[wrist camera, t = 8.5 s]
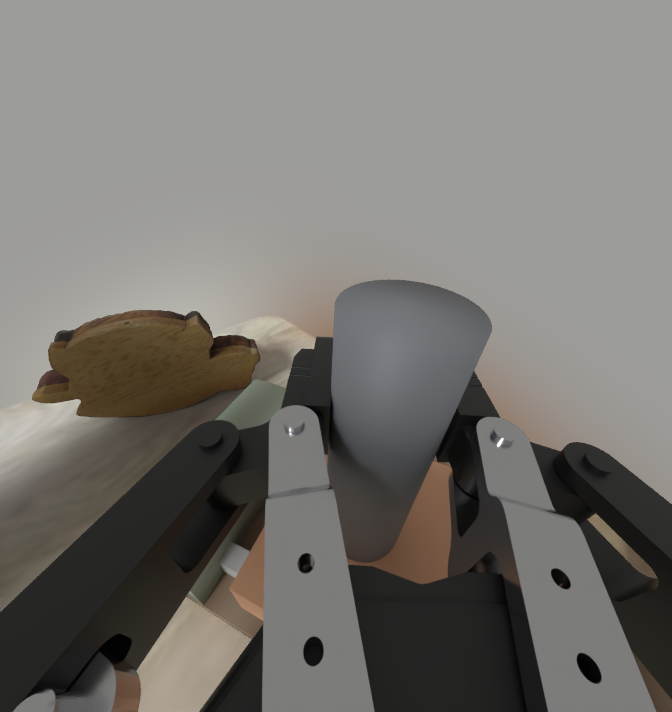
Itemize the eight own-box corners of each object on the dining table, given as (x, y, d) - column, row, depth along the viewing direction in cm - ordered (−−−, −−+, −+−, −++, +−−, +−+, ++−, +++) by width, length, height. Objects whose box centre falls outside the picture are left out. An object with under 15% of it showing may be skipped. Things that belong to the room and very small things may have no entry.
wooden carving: (256, 366, 31) (241, 281, 25) (267, 392, 28) (254, 302, 22) (73, 414, 25) (-6, 316, 19) (61, 455, 22) (-37, 353, 16)
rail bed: (167, 584, 16) (107, 529, 11) (267, 445, 23) (255, 378, 18) (912, 1064, 8) (1724, 1534, 3) (697, 620, 15) (857, 579, 11)
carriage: (241, 607, 13) (90, 377, 4) (322, 449, 19) (328, 239, 11) (418, 716, 10) (876, 703, 2) (440, 495, 17) (562, 276, 9)
